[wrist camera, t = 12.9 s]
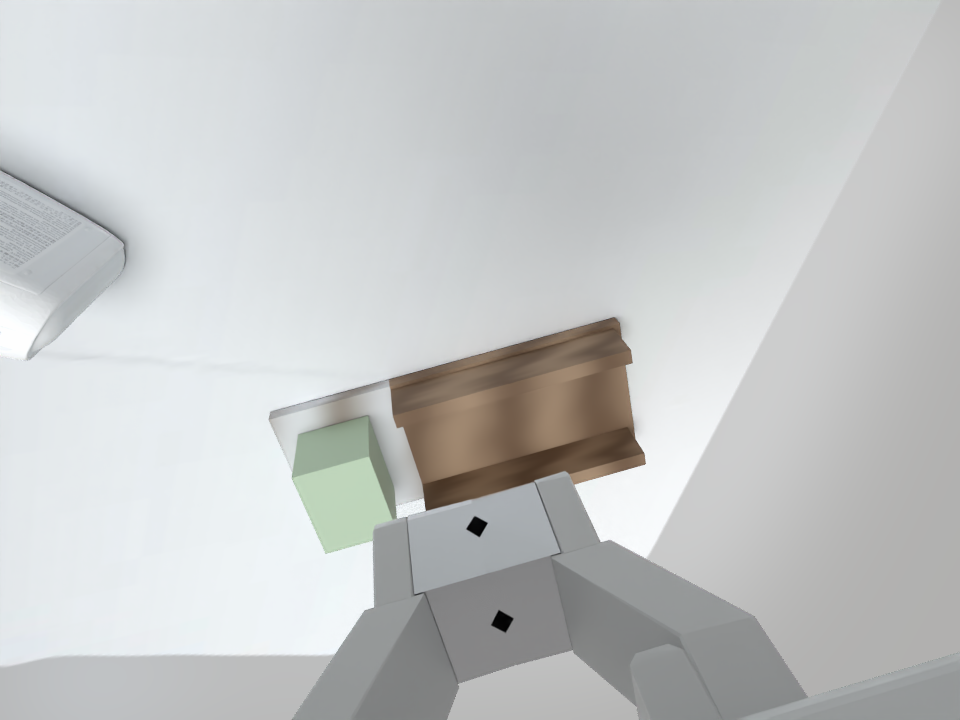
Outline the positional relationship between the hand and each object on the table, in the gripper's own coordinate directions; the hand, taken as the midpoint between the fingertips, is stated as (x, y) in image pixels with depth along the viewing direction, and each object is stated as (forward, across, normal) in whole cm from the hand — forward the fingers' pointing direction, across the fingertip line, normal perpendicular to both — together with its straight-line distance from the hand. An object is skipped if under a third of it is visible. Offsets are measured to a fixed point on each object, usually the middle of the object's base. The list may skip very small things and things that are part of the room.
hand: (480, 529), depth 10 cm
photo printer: (+34, +21, -1) cm, 40 cm away
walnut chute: (+34, 0, +20) cm, 39 cm away
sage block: (+33, +9, +20) cm, 40 cm away
